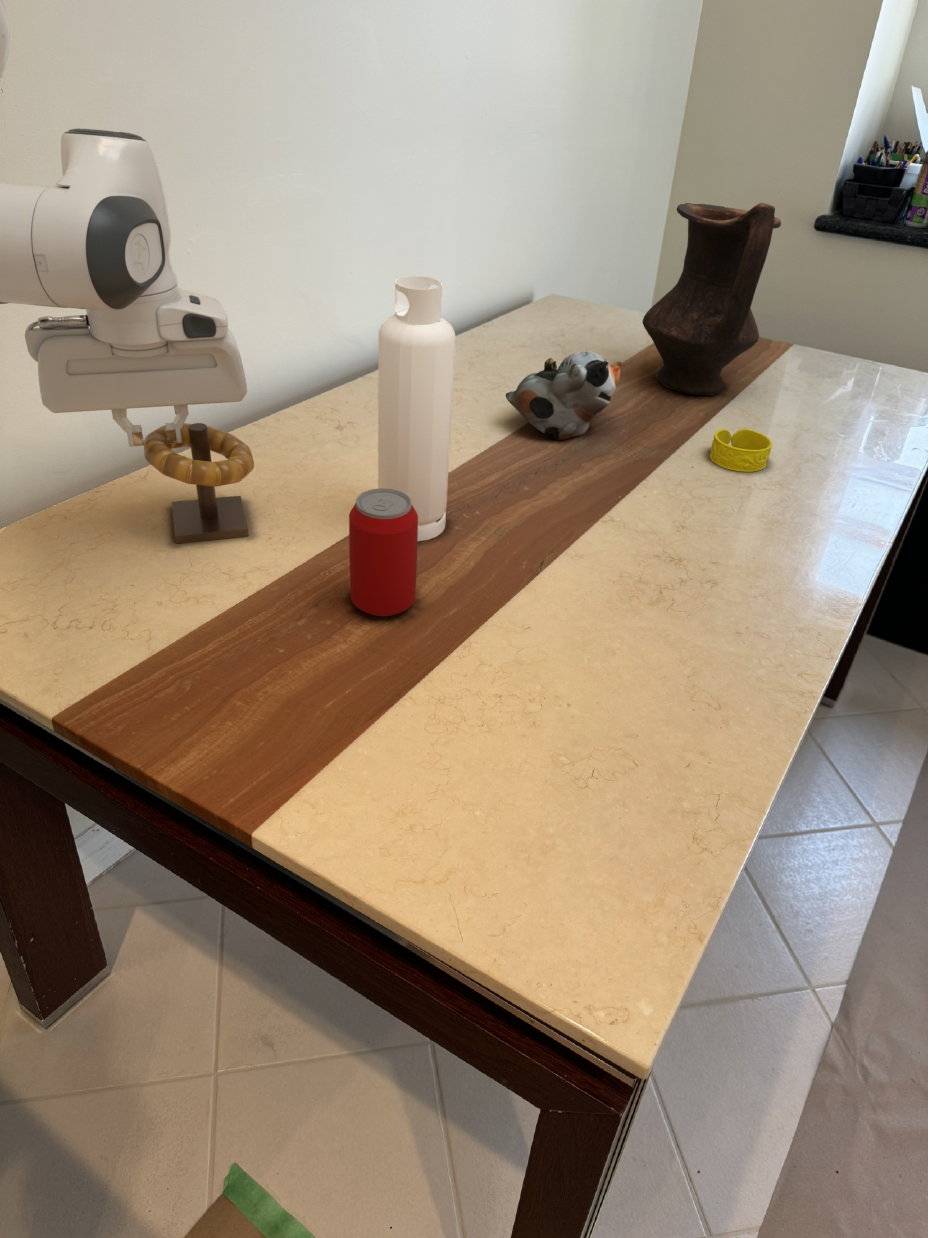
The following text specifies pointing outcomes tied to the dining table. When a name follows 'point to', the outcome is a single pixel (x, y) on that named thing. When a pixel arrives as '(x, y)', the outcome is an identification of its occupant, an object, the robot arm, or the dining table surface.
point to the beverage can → (383, 552)
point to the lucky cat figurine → (566, 394)
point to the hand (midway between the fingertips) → (155, 442)
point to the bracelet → (740, 450)
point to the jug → (711, 296)
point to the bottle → (416, 401)
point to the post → (207, 504)
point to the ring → (197, 470)
